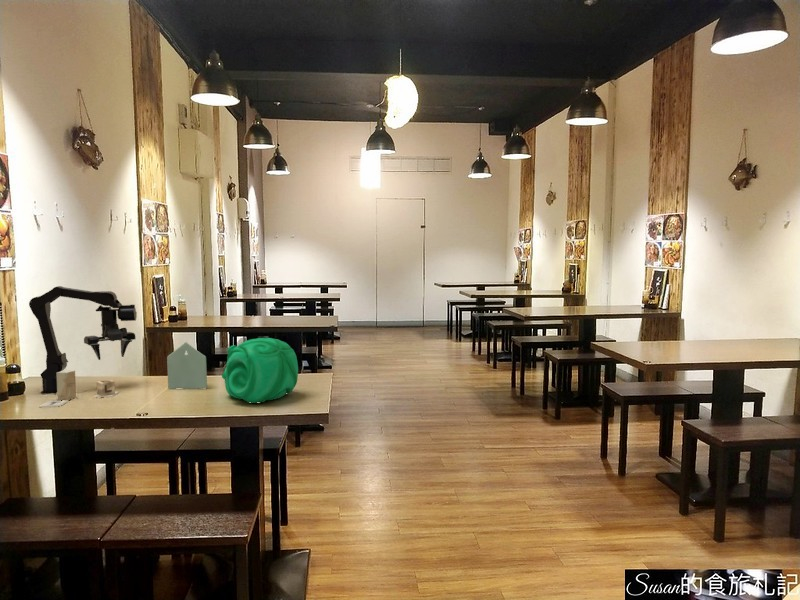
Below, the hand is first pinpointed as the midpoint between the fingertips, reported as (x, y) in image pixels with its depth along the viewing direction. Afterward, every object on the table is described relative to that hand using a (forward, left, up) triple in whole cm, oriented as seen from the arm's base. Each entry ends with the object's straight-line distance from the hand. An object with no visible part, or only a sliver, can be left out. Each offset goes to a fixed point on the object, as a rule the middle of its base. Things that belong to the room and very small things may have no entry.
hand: (111, 358), depth 239 cm
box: (-10, -18, -13) cm, 24 cm away
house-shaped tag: (+33, -3, -13) cm, 35 cm away
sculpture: (+64, -24, -13) cm, 70 cm away
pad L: (+3, -14, -12) cm, 19 cm away
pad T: (-11, -26, -12) cm, 31 cm away
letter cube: (+3, -14, -12) cm, 19 cm away
